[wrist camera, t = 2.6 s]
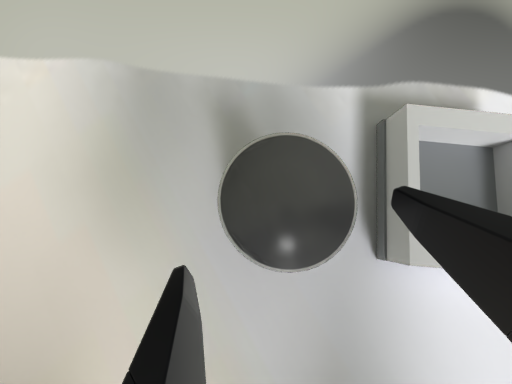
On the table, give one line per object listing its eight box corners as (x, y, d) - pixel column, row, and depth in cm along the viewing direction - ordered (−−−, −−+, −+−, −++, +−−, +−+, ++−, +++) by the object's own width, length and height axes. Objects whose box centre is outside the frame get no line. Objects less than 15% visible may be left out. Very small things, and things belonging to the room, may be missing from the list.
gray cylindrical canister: (284, 260, 18) (330, 295, 8) (221, 233, 18) (193, 238, 9) (307, 197, 19) (375, 163, 9) (247, 172, 19) (250, 112, 9)
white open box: (501, 268, 19) (558, 277, 16) (376, 258, 19) (406, 265, 15) (491, 135, 21) (540, 117, 17) (376, 124, 20) (404, 103, 17)
